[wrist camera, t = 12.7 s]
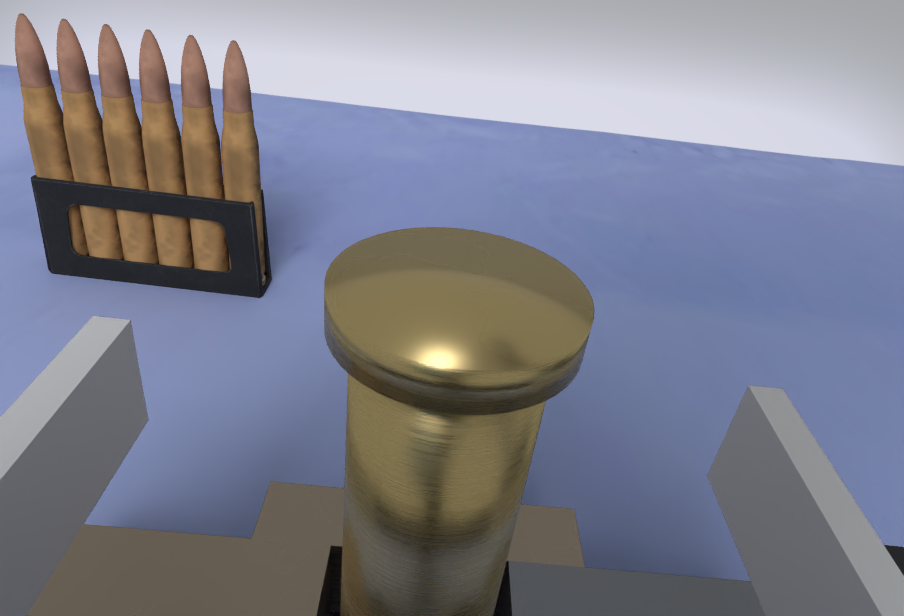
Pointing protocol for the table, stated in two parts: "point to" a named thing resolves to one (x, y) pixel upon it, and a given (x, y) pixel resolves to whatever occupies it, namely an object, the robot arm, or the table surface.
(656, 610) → the chain joint
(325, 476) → the table surface
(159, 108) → the ammunition clip
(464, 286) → the link pin
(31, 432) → the robot arm
